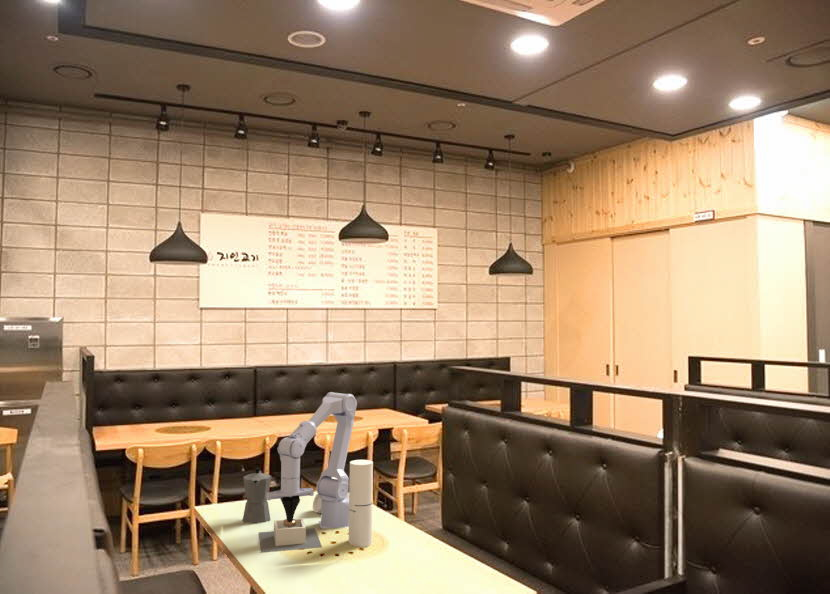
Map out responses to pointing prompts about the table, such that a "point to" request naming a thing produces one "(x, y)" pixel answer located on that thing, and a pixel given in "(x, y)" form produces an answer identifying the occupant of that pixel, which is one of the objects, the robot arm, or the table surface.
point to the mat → (269, 545)
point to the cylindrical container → (360, 503)
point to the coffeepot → (256, 497)
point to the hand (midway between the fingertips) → (289, 520)
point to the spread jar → (318, 501)
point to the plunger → (289, 523)
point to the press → (289, 533)
